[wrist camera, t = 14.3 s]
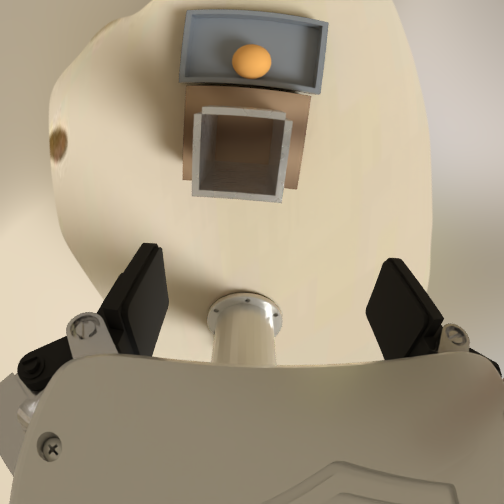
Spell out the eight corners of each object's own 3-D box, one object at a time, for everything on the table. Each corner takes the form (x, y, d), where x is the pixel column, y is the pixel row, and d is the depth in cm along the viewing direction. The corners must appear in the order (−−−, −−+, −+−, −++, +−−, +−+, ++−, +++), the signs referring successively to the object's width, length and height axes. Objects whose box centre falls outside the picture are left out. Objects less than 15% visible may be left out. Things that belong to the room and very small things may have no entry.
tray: (315, 94, 27) (320, 94, 25) (184, 83, 26) (178, 82, 24) (323, 27, 22) (328, 22, 20) (191, 15, 21) (186, 10, 19)
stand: (290, 176, 32) (296, 189, 28) (192, 167, 31) (182, 179, 27) (302, 96, 27) (311, 96, 23) (196, 87, 26) (186, 85, 22)
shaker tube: (272, 170, 27) (281, 203, 19) (209, 165, 26) (191, 196, 19) (280, 108, 23) (293, 114, 16) (213, 103, 23) (194, 106, 15)
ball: (271, 53, 24) (267, 84, 25) (234, 50, 24) (231, 81, 25) (274, 41, 20) (271, 75, 22) (233, 37, 20) (229, 71, 21)
